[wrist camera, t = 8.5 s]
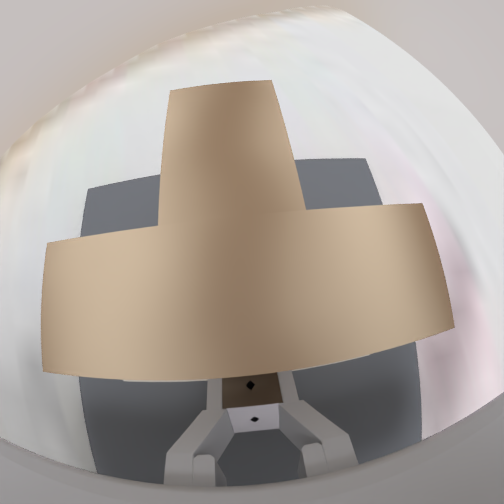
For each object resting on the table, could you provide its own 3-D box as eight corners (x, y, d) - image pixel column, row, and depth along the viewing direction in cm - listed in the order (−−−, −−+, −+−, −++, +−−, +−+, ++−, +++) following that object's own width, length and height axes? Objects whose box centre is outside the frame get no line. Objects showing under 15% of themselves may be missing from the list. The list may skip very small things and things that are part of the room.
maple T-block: (139, 365, 13) (43, 371, 6) (138, 201, 17) (83, 113, 9) (359, 342, 14) (454, 327, 6) (325, 182, 17) (362, 84, 10)
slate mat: (127, 538, 9) (124, 542, 8) (91, 193, 18) (87, 189, 17) (411, 507, 10) (415, 510, 9) (362, 163, 18) (365, 158, 18)
